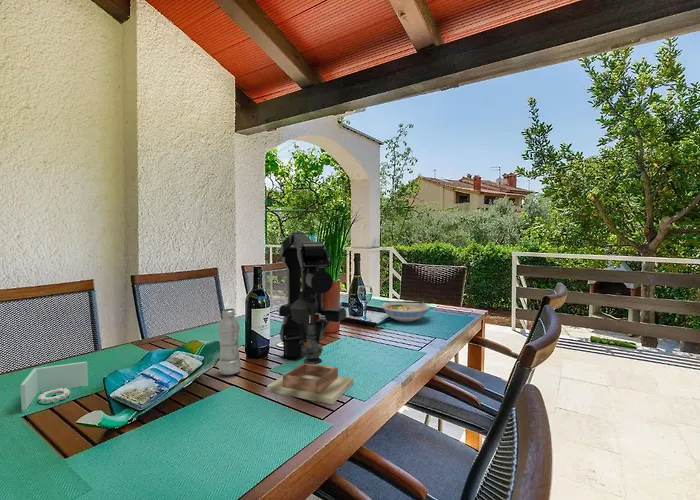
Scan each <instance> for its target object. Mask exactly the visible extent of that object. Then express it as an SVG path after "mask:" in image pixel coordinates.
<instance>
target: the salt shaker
mask: <svg viewBox="0 0 700 500" xmlns="http://www.w3.org/2000/svg"><path fill="white" fill-rule="evenodd" d="M306 337H307V342H306V345H305V346H304V348H303V349H302V351H303V353H304V356H303V357H305V359H303V362H304V363H305V364H310V365H314V364H317V365H320V364H321V363H322V362H323V360H322V359H321V358H320V357H321V356H322V353H323V350H324V348H323V347H322V346H320V344H319V343H317V324H316V322H315V321H314V319H311V321H310V322H309V324H308V325H307V335H306ZM303 362H302V363H303Z"/></svg>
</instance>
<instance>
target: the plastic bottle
mask: <svg viewBox="0 0 700 500" xmlns="http://www.w3.org/2000/svg"><path fill="white" fill-rule="evenodd" d="M235 316H236V309H235V308H224V309H222V313H221V317H222V318H221V320H220V322H219V323H218V325H217V332H218V339H219V348H220V352H219V353H220V354H219V362H218V370H219V373H220V374H221V375H223V376H232V375H233V376H234V375H235V374H237V373H239V372H240V370H241V366H242V365H241V364H242V362H241V359H240V352H239V351H240V350H239V338H240V337H239V336H240V329H241V327H240V326H241V325H240V323H239V321H238V320H237V318H236V317H235Z"/></svg>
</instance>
